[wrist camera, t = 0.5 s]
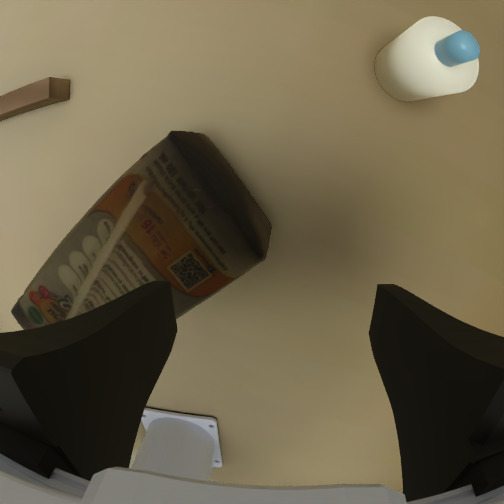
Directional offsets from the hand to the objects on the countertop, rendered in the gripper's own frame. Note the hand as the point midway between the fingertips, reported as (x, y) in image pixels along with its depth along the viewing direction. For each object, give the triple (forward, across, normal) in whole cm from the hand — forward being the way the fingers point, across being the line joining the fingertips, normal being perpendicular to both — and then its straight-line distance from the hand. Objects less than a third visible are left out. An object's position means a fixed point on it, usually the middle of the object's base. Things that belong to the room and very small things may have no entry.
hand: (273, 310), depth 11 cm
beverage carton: (+11, +10, +2) cm, 15 cm away
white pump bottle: (+10, -8, -10) cm, 17 cm away
